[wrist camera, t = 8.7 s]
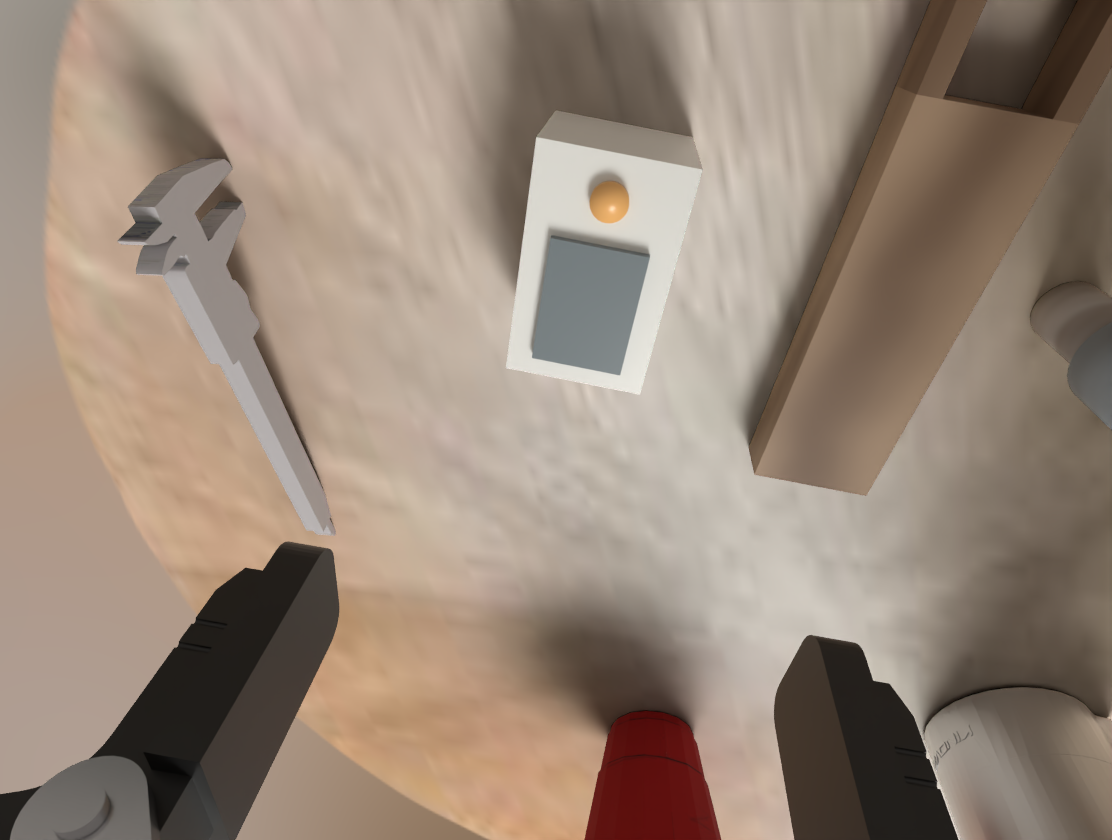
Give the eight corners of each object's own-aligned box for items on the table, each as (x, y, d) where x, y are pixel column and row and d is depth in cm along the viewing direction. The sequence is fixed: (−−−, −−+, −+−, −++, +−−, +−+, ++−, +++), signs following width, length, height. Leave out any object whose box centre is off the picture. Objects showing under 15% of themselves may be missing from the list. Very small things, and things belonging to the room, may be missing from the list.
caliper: (207, 154, 25) (96, 197, 20) (233, 154, 25) (128, 198, 20) (321, 528, 37) (268, 617, 32) (339, 530, 37) (289, 618, 32)
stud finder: (692, 136, 23) (703, 172, 19) (641, 333, 28) (639, 399, 23) (556, 109, 23) (534, 138, 19) (526, 310, 28) (504, 372, 23)
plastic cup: (705, 788, 47) (721, 999, 38) (563, 756, 47) (541, 960, 37) (759, 708, 41) (794, 936, 31) (595, 672, 41) (579, 889, 31)
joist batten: (1189, -155, 17) (1246, -170, 16) (854, 467, 30) (866, 495, 28) (1007, -188, 17) (1044, -206, 16) (748, 447, 30) (754, 474, 28)
